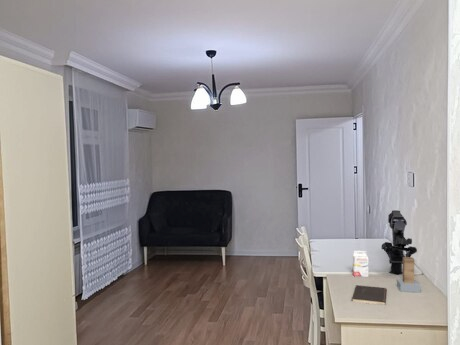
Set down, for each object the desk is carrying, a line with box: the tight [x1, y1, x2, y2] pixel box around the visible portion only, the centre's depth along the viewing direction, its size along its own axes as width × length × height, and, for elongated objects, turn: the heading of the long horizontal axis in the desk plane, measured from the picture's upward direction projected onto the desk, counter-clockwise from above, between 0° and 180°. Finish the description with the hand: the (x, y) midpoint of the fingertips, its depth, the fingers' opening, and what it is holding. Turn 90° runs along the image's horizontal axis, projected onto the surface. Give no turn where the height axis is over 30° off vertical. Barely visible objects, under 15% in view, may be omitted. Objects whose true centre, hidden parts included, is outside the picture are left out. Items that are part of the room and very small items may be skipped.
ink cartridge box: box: [352, 250, 370, 278], centre depth 278 cm, size 9×5×15 cm, turn 84°
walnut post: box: [402, 256, 415, 283], centre depth 250 cm, size 5×5×13 cm
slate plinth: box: [396, 278, 421, 293], centre depth 250 cm, size 10×10×4 cm
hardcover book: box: [351, 285, 388, 306], centre depth 239 cm, size 16×23×2 cm
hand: (399, 262), depth 260 cm, fingers open, 9 cm apart
